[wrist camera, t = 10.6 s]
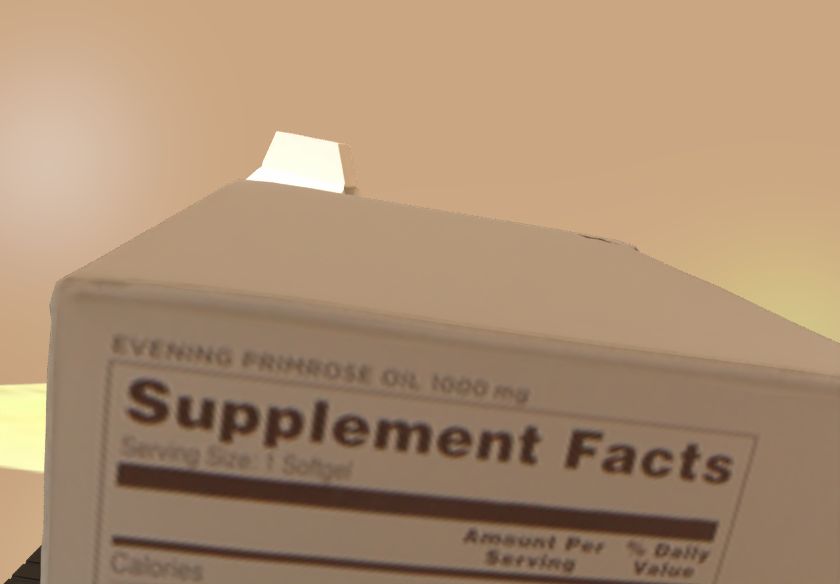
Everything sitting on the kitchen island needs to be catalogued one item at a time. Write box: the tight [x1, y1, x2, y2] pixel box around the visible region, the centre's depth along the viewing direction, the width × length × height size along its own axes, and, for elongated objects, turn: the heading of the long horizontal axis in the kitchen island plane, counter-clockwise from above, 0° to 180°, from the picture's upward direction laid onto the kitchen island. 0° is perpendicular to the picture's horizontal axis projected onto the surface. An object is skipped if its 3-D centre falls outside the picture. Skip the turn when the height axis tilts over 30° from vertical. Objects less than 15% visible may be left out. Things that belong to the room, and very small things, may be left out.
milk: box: [246, 131, 363, 197], centre depth 50 cm, size 12×12×26 cm
